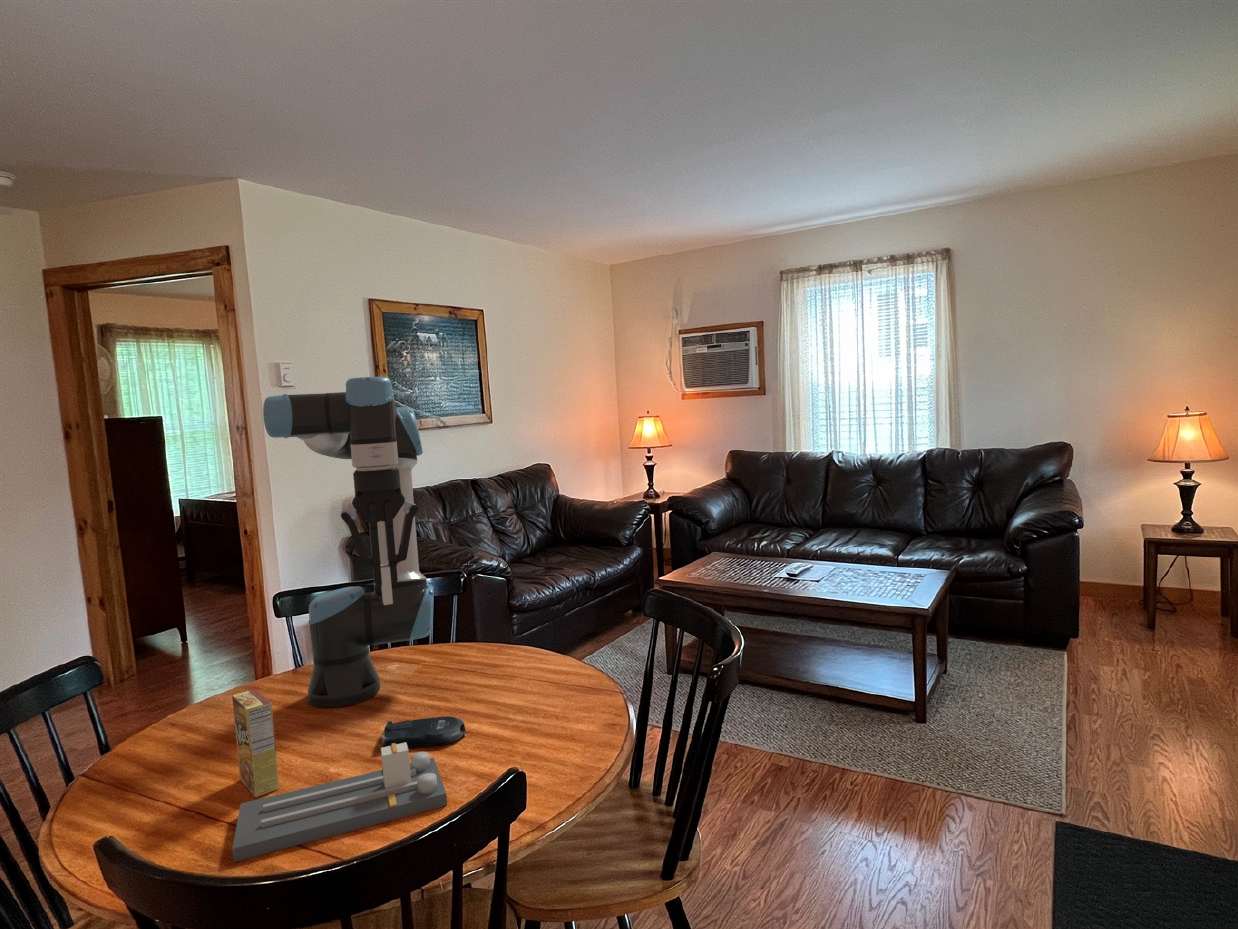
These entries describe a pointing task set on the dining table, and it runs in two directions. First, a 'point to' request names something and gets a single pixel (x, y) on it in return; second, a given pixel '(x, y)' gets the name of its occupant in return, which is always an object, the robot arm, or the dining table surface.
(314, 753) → the dining table surface
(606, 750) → the dining table surface
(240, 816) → the console board
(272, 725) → the candy box
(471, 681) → the dining table surface
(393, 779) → the fader tab
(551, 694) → the dining table surface
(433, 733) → the electronic device
